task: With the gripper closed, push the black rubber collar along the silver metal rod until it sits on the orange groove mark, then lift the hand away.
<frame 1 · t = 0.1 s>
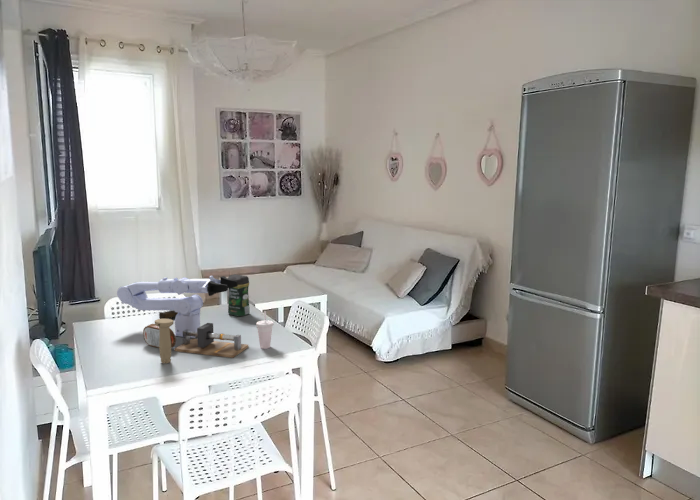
hand: (232, 285, 209), 22 cm above the table, tool horizontal, fingers open, 7 cm apart
coffee jar: (239, 314, 248), on the table
silver metal rod: (211, 339, 200), on the base board, point 4 cm above the table
hand tool: (179, 317, 244), on the table
base board: (211, 349, 201), on the table
handle: (166, 362, 187), on the table
smoothie: (265, 347, 203), on the table
collar: (205, 335, 200), point 5 cm above the table, slide at -2.5 cm
tin: (159, 347, 202), on the table
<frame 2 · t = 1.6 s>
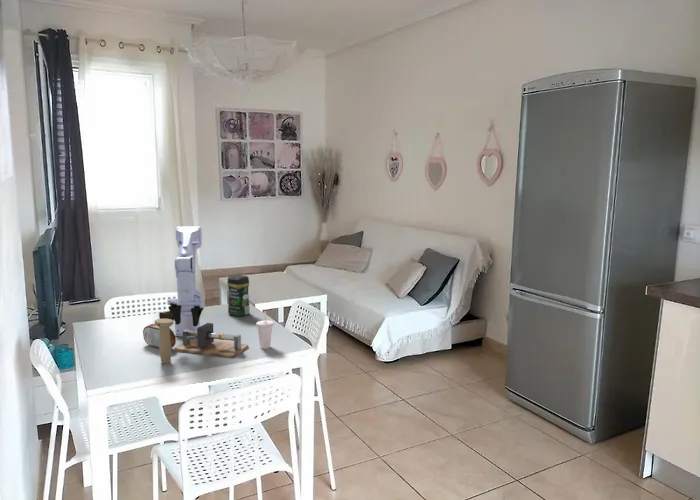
hand: (186, 324, 199), 9 cm above the table, tool pointing down, fingers open, 7 cm apart
nothing on the table moved.
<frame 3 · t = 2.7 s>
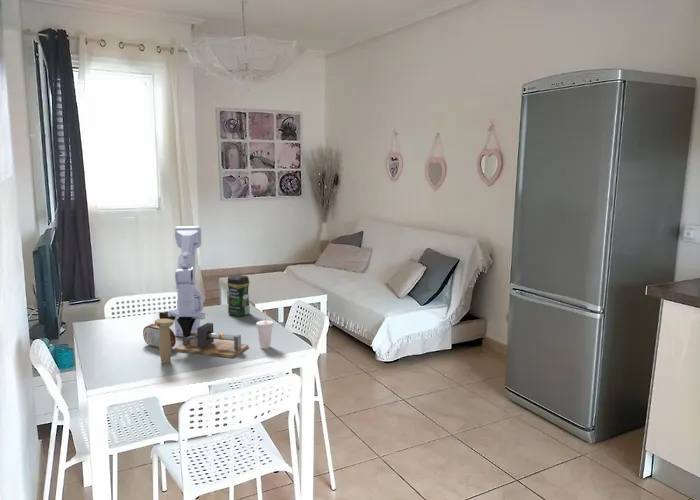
hand: (187, 336, 199), 5 cm above the table, tool pointing down, fingers closed
nothing on the table moved.
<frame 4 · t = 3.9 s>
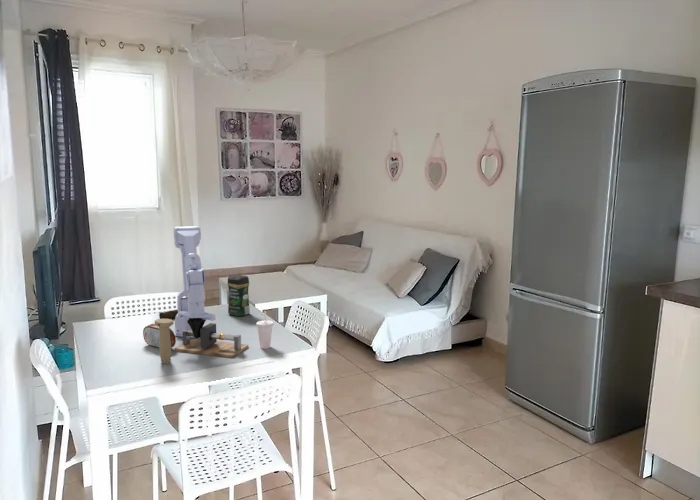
hand: (197, 337, 198), 5 cm above the table, tool pointing down, fingers closed
collar: (208, 335, 200), point 5 cm above the table, slide at -1.3 cm, touching gripper
everything else where it was.
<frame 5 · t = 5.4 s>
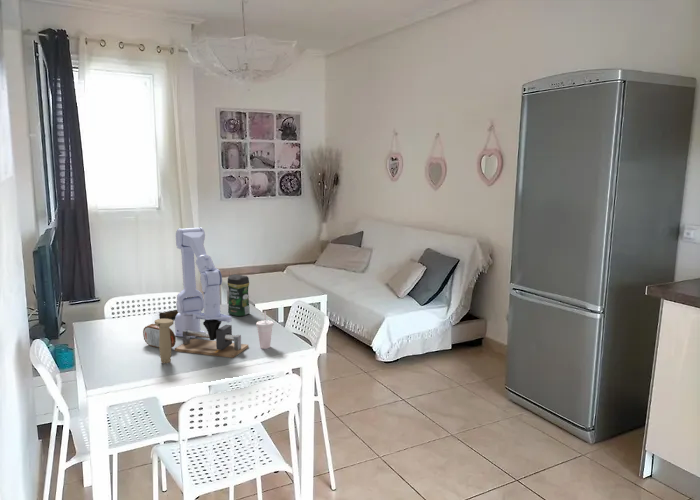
hand: (213, 339, 197), 5 cm above the table, tool pointing down, fingers closed
collar: (224, 337, 198), point 5 cm above the table, slide at 5.3 cm, touching gripper
everything else where it was.
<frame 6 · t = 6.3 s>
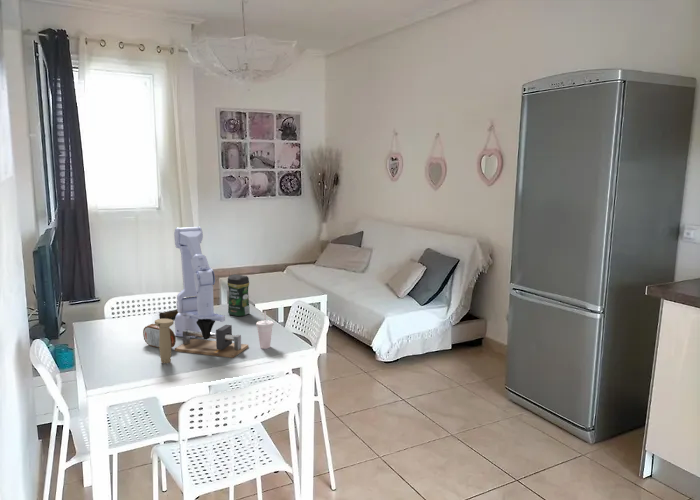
hand: (206, 338, 197), 5 cm above the table, tool pointing down, fingers closed
collar: (224, 337, 198), point 5 cm above the table, slide at 5.3 cm
everything else where it was.
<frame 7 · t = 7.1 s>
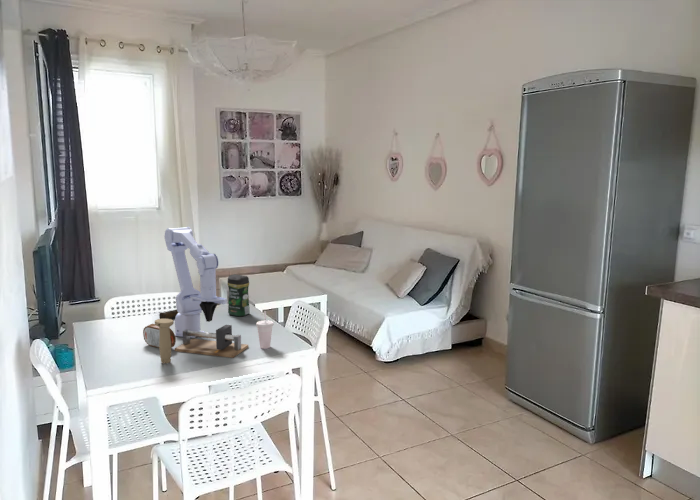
hand: (209, 320, 205), 9 cm above the table, tool pointing down, fingers closed
nothing on the table moved.
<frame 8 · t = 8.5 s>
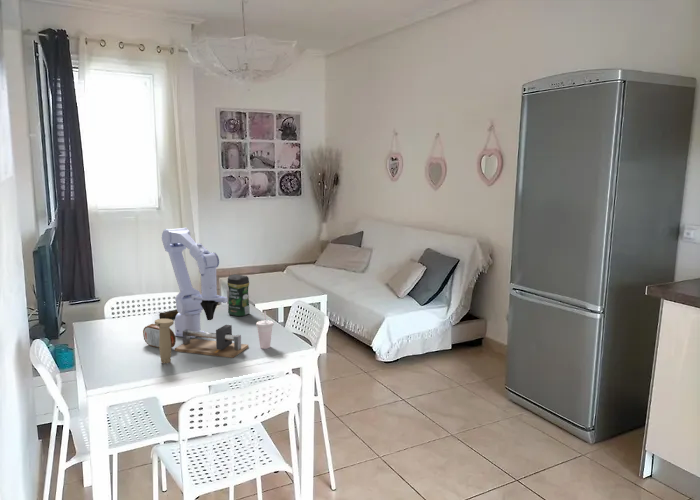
hand: (210, 319, 206), 9 cm above the table, tool pointing down, fingers closed
at the end: collar slide at 5.3 cm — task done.
